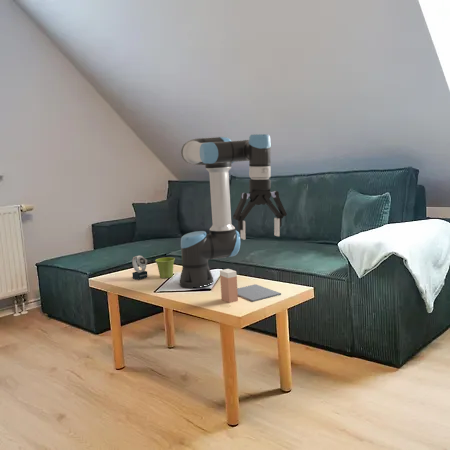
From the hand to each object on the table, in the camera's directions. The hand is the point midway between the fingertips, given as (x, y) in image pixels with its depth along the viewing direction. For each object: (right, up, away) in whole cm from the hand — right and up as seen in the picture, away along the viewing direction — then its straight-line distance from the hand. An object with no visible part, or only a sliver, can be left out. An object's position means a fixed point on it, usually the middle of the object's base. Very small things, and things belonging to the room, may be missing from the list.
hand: (260, 237), depth 181 cm
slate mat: (-1, -24, +26) cm, 35 cm away
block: (-11, -26, +19) cm, 34 cm away
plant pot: (-41, -21, +62) cm, 77 cm away
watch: (-54, -22, +62) cm, 85 cm away
